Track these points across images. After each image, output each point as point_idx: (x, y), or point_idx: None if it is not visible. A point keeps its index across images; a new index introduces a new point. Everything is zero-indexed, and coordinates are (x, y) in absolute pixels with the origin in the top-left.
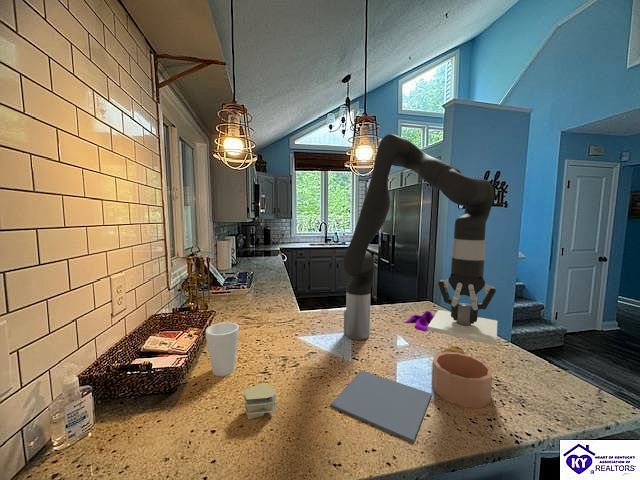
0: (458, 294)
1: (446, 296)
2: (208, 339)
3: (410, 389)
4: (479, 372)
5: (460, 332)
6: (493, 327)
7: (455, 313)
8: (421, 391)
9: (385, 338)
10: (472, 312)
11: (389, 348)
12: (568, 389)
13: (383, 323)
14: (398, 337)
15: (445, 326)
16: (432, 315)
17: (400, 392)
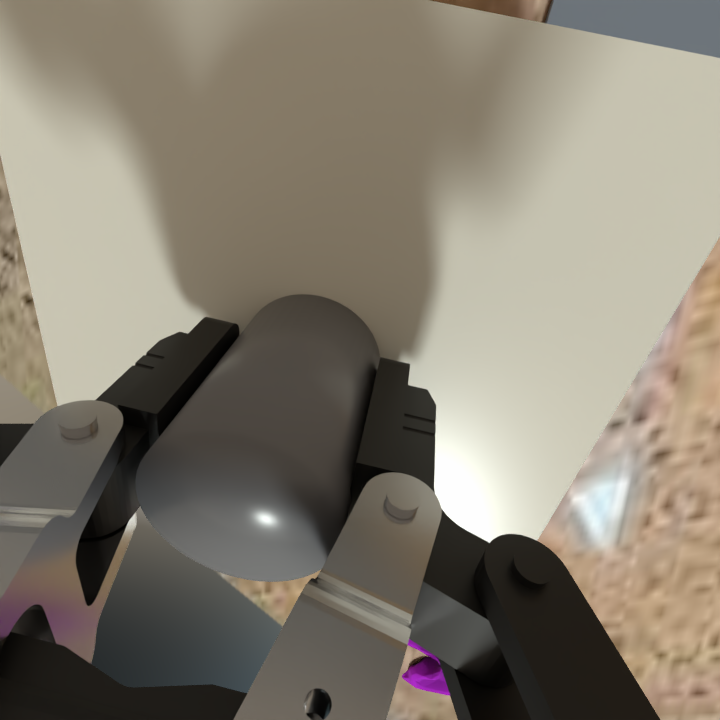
0: (274, 699)
1: (549, 667)
2: None
3: None
4: None
5: (355, 32)
6: (69, 346)
7: (383, 402)
8: None
9: (679, 517)
10: (159, 388)
11: (676, 441)
12: (40, 343)
13: (662, 626)
14: (609, 535)
15: (523, 189)
16: (439, 689)
17: (715, 8)
